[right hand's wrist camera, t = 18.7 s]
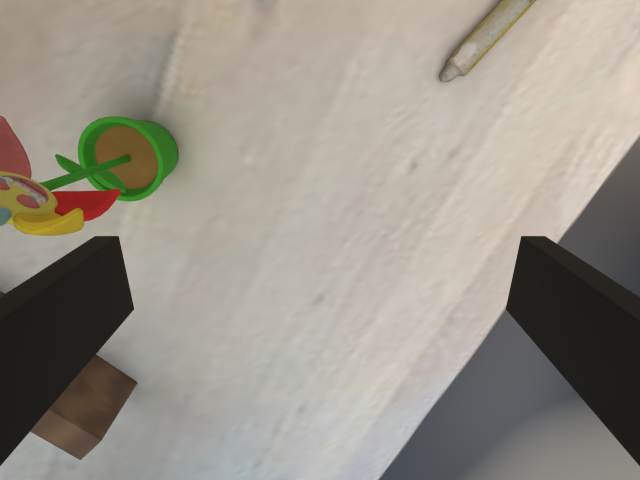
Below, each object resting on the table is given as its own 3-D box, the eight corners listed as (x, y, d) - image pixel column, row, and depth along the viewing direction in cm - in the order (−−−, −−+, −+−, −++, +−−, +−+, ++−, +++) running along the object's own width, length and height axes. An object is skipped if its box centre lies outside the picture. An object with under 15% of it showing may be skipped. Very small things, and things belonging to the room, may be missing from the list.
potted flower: (203, 146, 41) (50, 219, 18) (168, 201, 43) (-9, 330, 20) (124, 89, 39) (-169, 87, 15) (92, 151, 41) (-206, 229, 18)
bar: (-55, 288, 48) (-141, 334, 39) (-39, 265, 46) (-123, 307, 37) (119, 400, 54) (80, 460, 45) (137, 382, 53) (101, 440, 44)
